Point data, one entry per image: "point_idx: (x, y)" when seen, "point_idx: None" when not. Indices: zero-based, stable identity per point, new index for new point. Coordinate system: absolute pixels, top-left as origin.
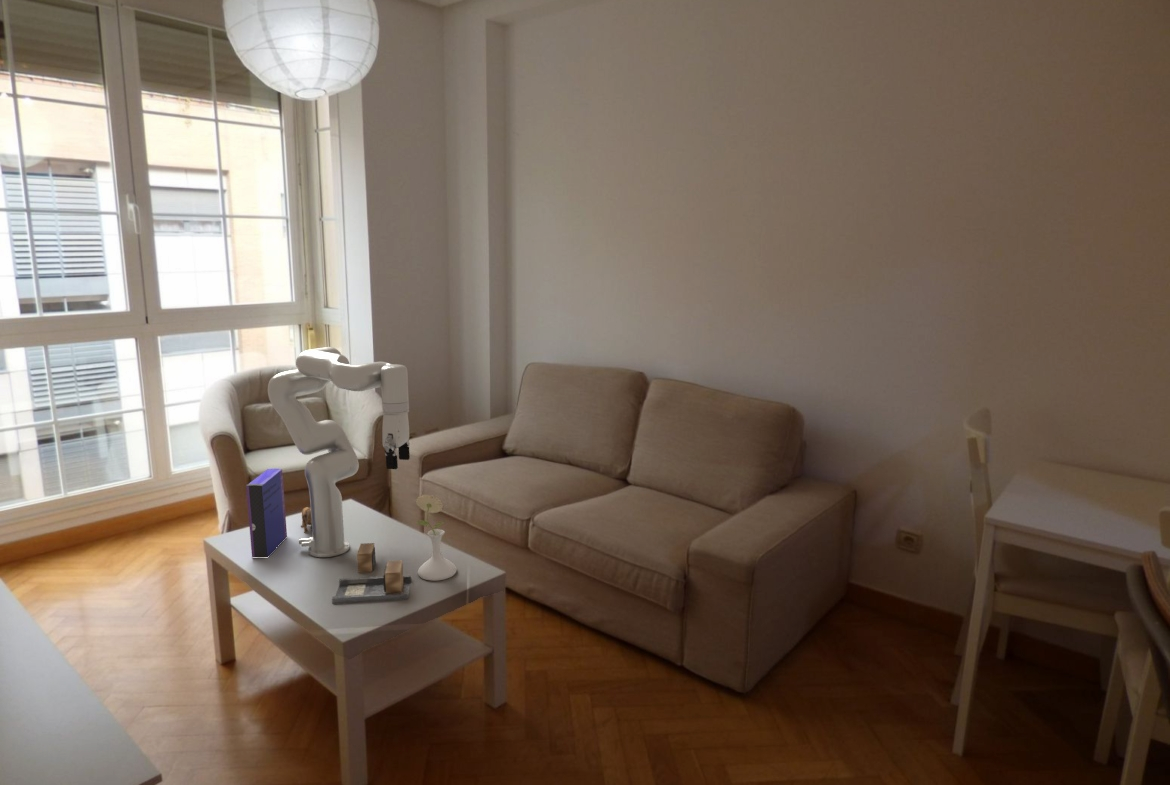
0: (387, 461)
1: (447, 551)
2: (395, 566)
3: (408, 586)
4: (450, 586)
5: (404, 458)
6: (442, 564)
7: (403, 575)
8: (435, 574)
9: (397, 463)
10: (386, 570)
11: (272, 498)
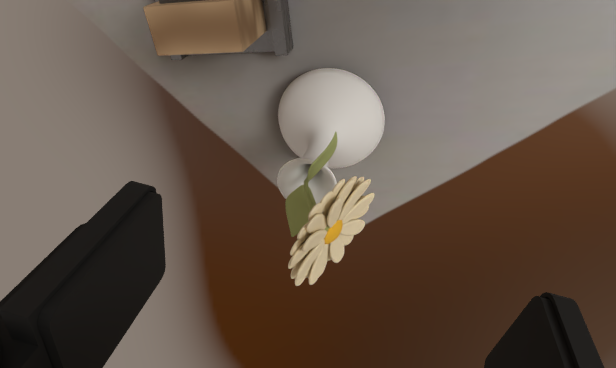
0: (76, 250)
1: (510, 134)
2: (194, 34)
3: (247, 48)
4: (273, 146)
5: (505, 346)
6: (303, 148)
7: (281, 32)
8: (281, 123)
9: (127, 316)
10: (162, 8)
11: None
